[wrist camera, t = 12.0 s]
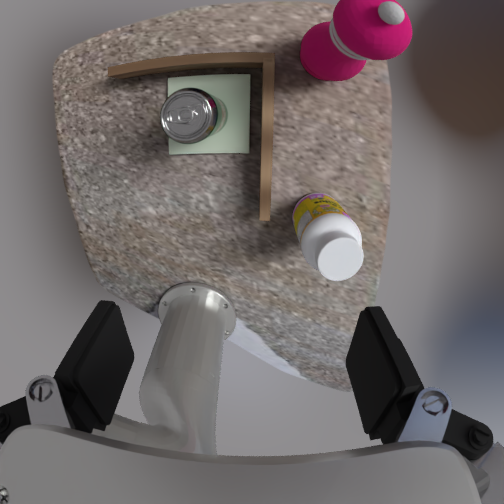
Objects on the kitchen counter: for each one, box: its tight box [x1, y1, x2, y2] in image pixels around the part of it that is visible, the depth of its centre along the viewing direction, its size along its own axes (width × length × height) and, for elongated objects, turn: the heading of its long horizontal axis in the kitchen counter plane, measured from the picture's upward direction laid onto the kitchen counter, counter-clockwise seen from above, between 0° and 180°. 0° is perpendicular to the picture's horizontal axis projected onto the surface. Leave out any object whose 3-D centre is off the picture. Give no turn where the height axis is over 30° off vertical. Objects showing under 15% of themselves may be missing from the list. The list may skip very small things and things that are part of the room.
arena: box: [108, 52, 275, 221], centre depth 32 cm, size 20×19×4 cm
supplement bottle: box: [292, 193, 363, 281], centre depth 32 cm, size 7×7×13 cm
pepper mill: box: [300, 0, 412, 81], centre depth 20 cm, size 7×7×20 cm
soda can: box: [160, 88, 228, 144], centre depth 27 cm, size 5×5×12 cm
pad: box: [168, 74, 250, 155], centre depth 32 cm, size 10×10×1 cm
